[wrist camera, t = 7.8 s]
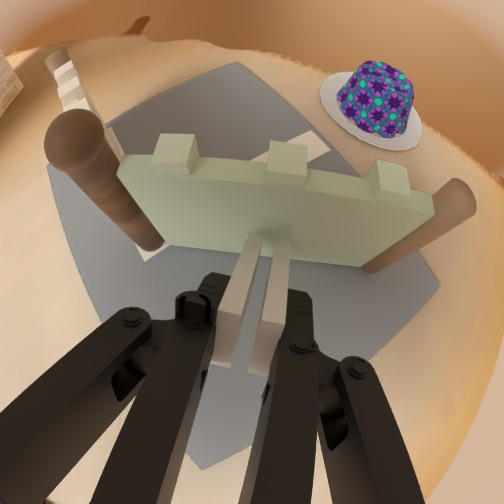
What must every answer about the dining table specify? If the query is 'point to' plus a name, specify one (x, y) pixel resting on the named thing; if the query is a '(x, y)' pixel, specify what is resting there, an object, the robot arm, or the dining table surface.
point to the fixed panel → (74, 89)
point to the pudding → (374, 105)
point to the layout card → (206, 261)
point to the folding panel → (289, 204)
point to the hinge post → (97, 173)
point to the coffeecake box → (8, 84)
